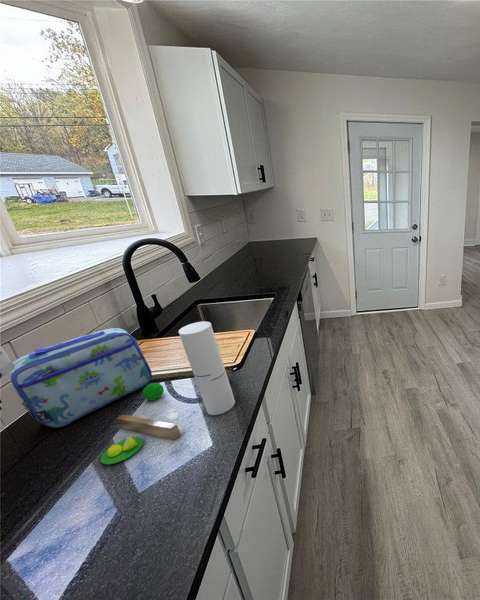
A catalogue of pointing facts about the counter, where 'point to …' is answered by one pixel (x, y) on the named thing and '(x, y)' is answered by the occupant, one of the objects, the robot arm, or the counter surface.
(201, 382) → the cylindrical container
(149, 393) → the polyhedron
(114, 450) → the plate of yellow fruit
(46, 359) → the lunch box
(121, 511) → the counter surface
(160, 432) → the rail
